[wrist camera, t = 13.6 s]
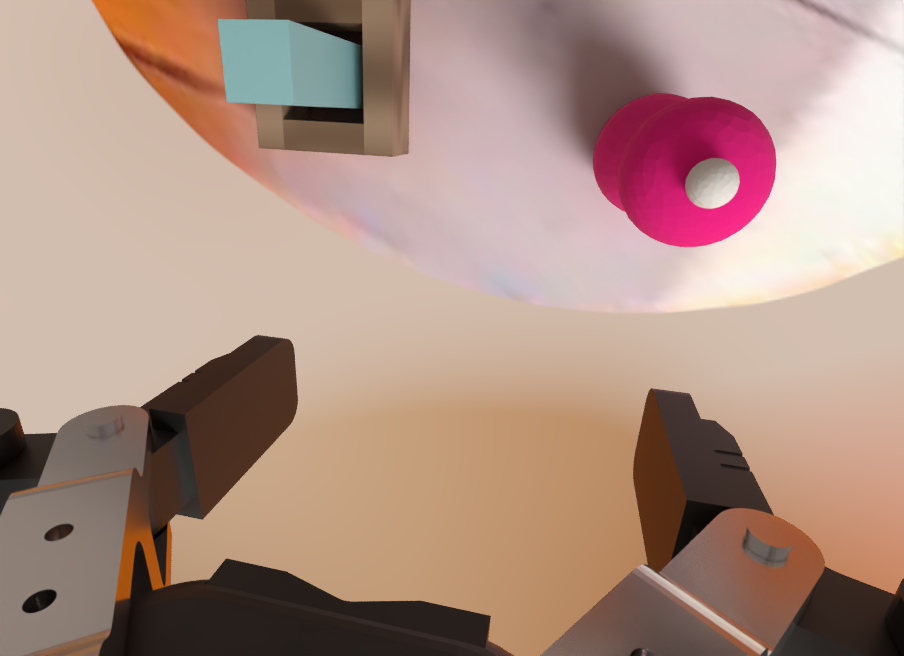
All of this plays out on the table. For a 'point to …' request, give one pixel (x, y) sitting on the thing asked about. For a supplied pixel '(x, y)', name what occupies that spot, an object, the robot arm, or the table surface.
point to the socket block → (384, 79)
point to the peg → (289, 65)
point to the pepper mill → (685, 167)
